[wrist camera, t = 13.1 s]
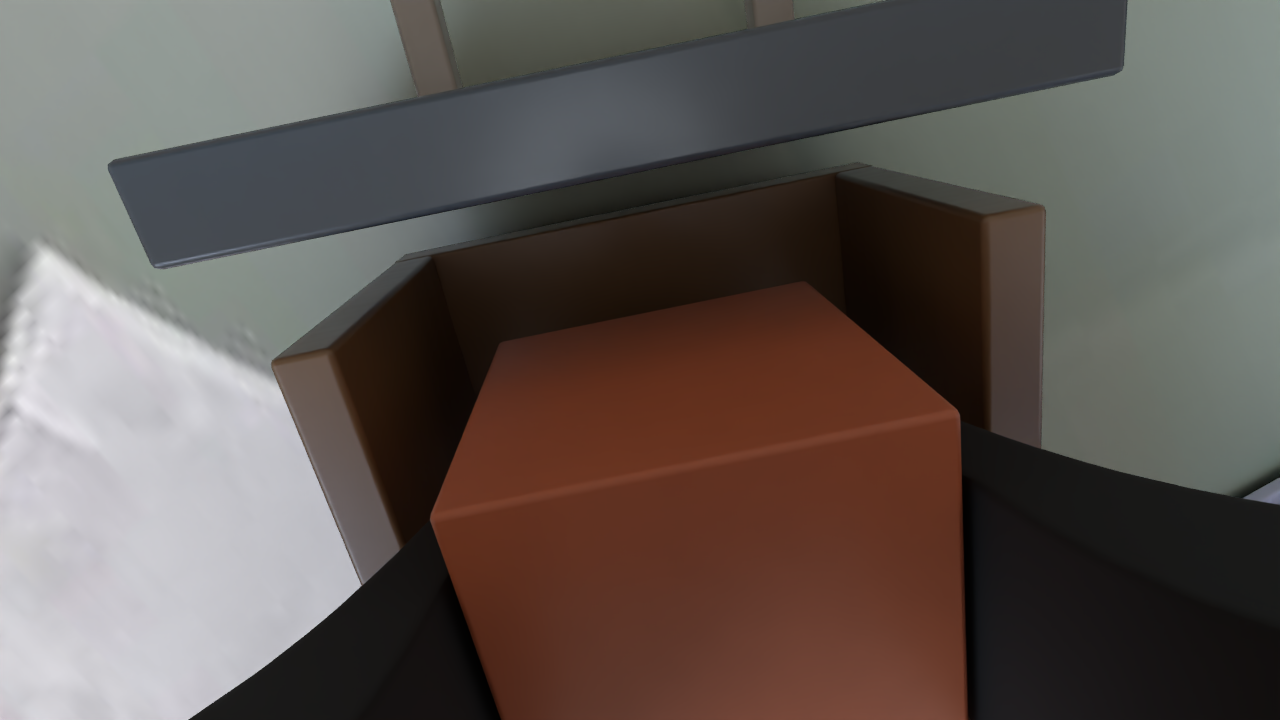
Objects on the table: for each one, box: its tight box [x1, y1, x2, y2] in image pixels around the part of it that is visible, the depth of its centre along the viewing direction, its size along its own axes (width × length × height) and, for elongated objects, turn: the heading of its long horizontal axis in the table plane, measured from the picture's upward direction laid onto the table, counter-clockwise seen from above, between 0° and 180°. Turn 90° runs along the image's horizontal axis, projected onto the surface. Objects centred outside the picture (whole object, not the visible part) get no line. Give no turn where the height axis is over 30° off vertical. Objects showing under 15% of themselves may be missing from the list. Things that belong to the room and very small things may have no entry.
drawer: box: [108, 0, 1127, 720], centre depth 12 cm, size 17×11×7 cm, turn 11°
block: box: [430, 281, 968, 720], centre depth 9 cm, size 5×5×5 cm
